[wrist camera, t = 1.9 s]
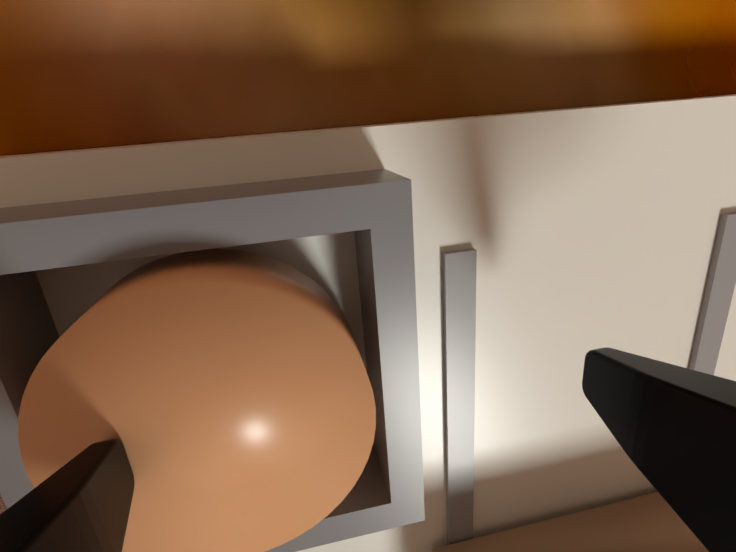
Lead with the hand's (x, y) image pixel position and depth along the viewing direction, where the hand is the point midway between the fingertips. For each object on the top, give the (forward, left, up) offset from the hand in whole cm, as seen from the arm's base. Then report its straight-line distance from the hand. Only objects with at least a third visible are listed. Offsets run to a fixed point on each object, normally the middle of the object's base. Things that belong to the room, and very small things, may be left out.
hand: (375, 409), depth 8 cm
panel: (-5, -3, -5) cm, 7 cm away
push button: (0, +3, -2) cm, 4 cm away
